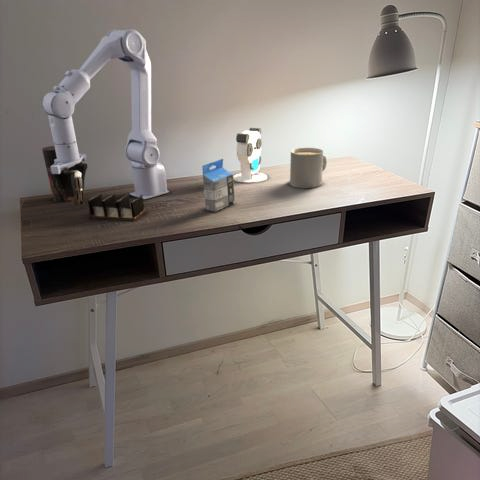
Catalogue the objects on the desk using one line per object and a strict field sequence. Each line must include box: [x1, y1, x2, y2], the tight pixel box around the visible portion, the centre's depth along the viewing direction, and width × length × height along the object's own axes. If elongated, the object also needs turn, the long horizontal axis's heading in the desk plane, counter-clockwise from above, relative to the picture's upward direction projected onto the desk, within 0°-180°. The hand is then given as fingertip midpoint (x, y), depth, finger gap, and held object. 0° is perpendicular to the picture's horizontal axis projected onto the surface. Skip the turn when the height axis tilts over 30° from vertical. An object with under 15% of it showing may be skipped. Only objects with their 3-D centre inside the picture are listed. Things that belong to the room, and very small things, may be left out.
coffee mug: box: [289, 147, 328, 189], centre depth 160 cm, size 13×10×10 cm
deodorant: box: [41, 145, 71, 203], centre depth 152 cm, size 6×6×15 cm
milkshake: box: [70, 170, 85, 207], centre depth 139 cm, size 5×5×10 cm
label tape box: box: [201, 158, 235, 213], centre depth 141 cm, size 9×4×12 cm, turn 143°
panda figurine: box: [233, 127, 268, 184], centre depth 165 cm, size 12×11×15 cm
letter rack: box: [87, 192, 146, 222], centre depth 139 cm, size 13×7×5 cm, turn 76°
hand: (75, 193), depth 140 cm, fingers closed on milkshake, 4 cm apart
